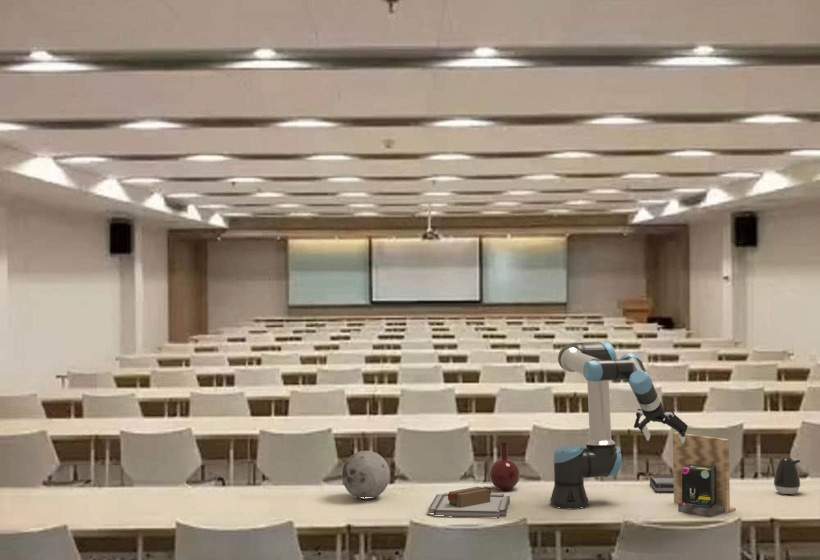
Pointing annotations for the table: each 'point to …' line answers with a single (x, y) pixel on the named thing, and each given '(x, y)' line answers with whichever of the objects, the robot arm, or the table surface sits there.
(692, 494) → the tampon box
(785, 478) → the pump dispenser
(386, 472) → the moon model
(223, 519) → the table surface
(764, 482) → the table surface
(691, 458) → the board
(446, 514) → the grey tray with block
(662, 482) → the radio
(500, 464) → the round-bottom flask
